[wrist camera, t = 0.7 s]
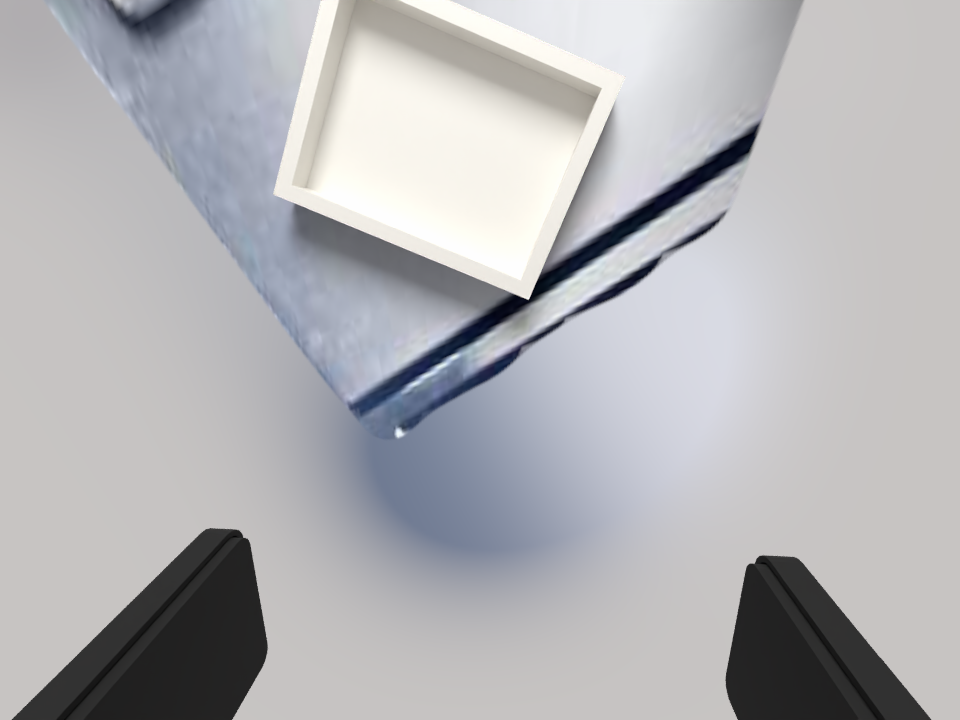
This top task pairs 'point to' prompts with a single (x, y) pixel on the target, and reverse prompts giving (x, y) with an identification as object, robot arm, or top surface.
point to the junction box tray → (443, 133)
